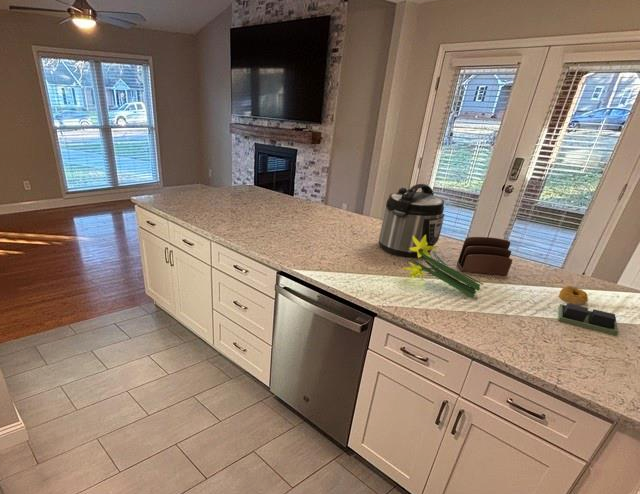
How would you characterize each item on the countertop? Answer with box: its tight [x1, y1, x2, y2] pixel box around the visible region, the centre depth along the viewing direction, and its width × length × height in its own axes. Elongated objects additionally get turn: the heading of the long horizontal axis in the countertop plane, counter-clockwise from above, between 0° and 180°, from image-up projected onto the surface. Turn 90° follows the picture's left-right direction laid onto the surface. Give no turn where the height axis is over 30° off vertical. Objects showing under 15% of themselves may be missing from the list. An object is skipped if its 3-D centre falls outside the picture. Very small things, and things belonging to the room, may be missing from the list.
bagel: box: [558, 285, 589, 306], centre depth 167 cm, size 10×11×5 cm
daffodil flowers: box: [402, 235, 484, 299], centre depth 172 cm, size 17×15×35 cm
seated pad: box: [563, 302, 589, 322], centre depth 153 cm, size 6×5×4 cm
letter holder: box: [456, 236, 514, 276], centre depth 189 cm, size 10×20×14 cm, turn 80°
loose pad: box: [588, 308, 617, 329], centre depth 150 cm, size 6×5×4 cm
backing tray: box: [557, 303, 619, 337], centre depth 152 cm, size 18×14×2 cm
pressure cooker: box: [378, 183, 445, 258], centre depth 203 cm, size 30×28×32 cm
